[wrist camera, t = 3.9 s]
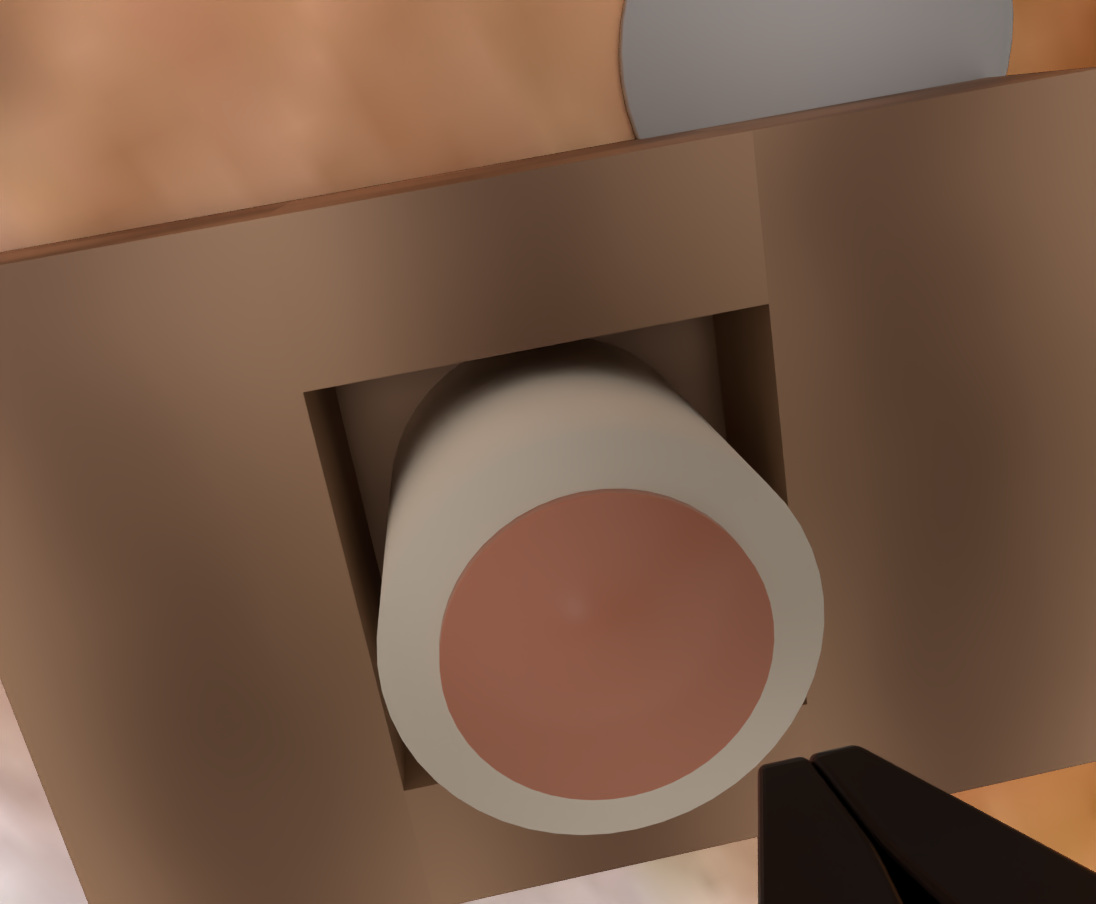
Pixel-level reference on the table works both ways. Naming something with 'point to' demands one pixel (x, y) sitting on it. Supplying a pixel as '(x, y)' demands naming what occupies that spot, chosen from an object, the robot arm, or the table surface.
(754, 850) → the table surface
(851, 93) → the mat
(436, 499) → the cream short cylinder
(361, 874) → the brown wooden block
